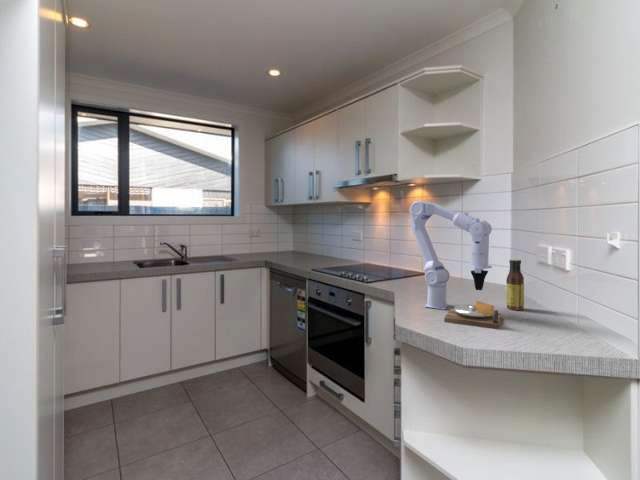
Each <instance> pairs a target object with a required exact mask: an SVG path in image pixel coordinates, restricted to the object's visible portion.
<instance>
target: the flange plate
mask: <svg viewBox="0 0 640 480" xmlns="http://www.w3.org/2000/svg"><path fill="white" fill-rule="evenodd" d="M453 308H454V312H455V313H458V314H460V315H464V316H470V317H491V316H493V310H495V305H492V304H489V303H485V302H482V301H475V305H473V304H471V305H470V304H469V305H467V304H465V305H464V304H463V305H462V304H461V305H456V306H454V307H453Z"/></svg>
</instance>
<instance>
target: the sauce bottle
mask: <svg viewBox="0 0 640 480" xmlns="http://www.w3.org/2000/svg"><path fill="white" fill-rule="evenodd" d="M508 261H509V262H508V263H509V271H508V274H507V277H506V281H505V282H506V283H505V284H506V286H505V287H506V290H505V291H506V292H505V293H506V295H505V296H506V297H505V299H506V300H505V301H506V302H505V303H506V308H507V309H509V310H511V311H522V310H524V308H525V307H524V306H525V283H524V282H525V278H524V276H523V275H524V274H523V273H522V272H521V271H522V270H521V264H522V259H513V258H511V259H509V260H508Z"/></svg>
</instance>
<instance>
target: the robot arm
mask: <svg viewBox="0 0 640 480" xmlns="http://www.w3.org/2000/svg"><path fill="white" fill-rule="evenodd" d="M408 211H409V214H410V222H409V223H410V225H409V226H410V228H411V231H412V233H413V235H414V239H415V241H416V244H417V246H418V249H419V252H420V253H421V256H422V260H423V262H424V264H425V265H424V268H423V272H424V280H425V282H426V283H427V298H426V299H427V303H426V304H425V305H424V308H428V309H438V310H446V309H447V308H448V307H449V303H447V282H448V281H449V279H450V275H451V274H450V272H449V271H448V270H447V268H445V266H444V263H442V262H441V261H440V260H439V259H438V256H437V253H436V250H435V248H434V246H433V243H432V241H431V239H430V236H429V233H428V231H427V229H426V224H427V221H429V219H430V218H431V217H432V216H433V215H437V216H440V217H442V218H445V219H446V220H450V221H451V222H453V225H454V226H455V227H457V228H459V229H461V230H464V231H465V232H468V233H469V234H470V235H471V262H470V263H471V264H470V268H472V269H473V270H470V273H471V276H472V278H473V283H474V288H475V290H476V291H483V287H484V284H485V280H486V277H487V275H488V274H489V271H488V270H485V269H492V265H489V251H490V249H489V248H490V244H489V243H490V240H489V239H490V234H491V232H492V230H493V229H492V225H491V223H489V222H487V220H480V219H481V218H479V217H473V216H472V215H469V212H467V211H465V212H458V213H457V212H454V211H452V210H450V209H448V208H446V207H445V206H442V205H440V204H437V203H435V202H434V203H433V202H432V201H421V200H416V201H415V200H414V201H413V203H412V204H411V205H410V208H409V210H408Z"/></svg>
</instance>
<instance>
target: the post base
mask: <svg viewBox="0 0 640 480" xmlns="http://www.w3.org/2000/svg"><path fill="white" fill-rule="evenodd" d="M501 314H502V313H500V312H499V310H497V309H496V310H495V309H494V310H493V316H491V317H470V316H464V315H460V314H458V313H455V312H454V307H451V308H450V309H449V310H448V311H447V313H446V315H445V316H444V317H443V318H444V321H443V322H444V323H450V324H456V325H457V324H459V325H465V326H466V325H467V326H474V327H480V328H481V327H482V328H487V329H495V330H500V325H501V317H502V316H501Z"/></svg>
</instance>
